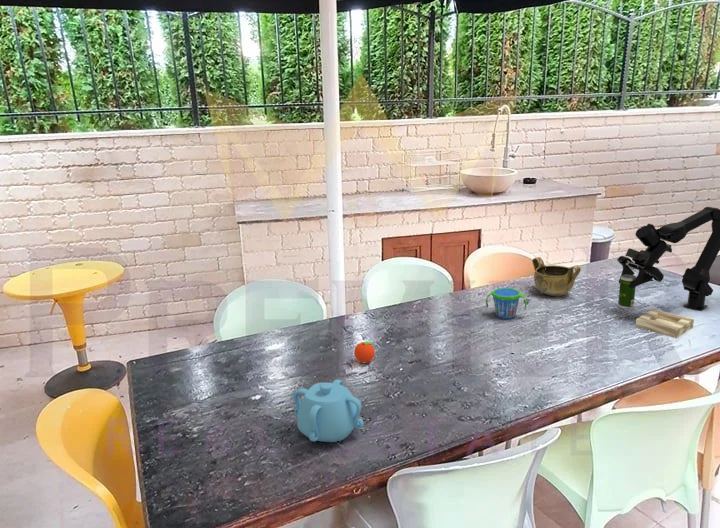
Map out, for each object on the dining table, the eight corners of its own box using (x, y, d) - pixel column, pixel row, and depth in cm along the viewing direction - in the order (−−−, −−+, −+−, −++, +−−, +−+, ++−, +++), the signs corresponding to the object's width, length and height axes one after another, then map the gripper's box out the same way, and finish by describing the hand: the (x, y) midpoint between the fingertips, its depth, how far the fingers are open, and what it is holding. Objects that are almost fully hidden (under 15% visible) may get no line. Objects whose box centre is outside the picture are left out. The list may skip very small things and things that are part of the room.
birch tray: (652, 317, 200) (653, 309, 199) (692, 327, 189) (694, 319, 188) (635, 327, 191) (636, 318, 190) (676, 339, 181) (677, 330, 180)
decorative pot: (304, 455, 128) (300, 407, 124) (293, 420, 143) (289, 376, 139) (367, 441, 133) (364, 394, 129) (349, 408, 148) (347, 365, 144)
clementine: (373, 354, 179) (372, 336, 177) (381, 363, 173) (380, 343, 171) (351, 359, 177) (350, 340, 175) (358, 368, 170) (357, 348, 168)
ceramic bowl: (588, 296, 223) (590, 262, 219) (563, 305, 214) (565, 271, 210) (544, 283, 241) (546, 252, 237) (520, 291, 232) (521, 259, 228)
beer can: (635, 305, 198) (638, 275, 195) (630, 309, 195) (633, 279, 191) (621, 302, 202) (623, 273, 199) (615, 306, 199) (618, 276, 195)
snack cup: (482, 318, 206) (483, 294, 203) (489, 309, 215) (489, 285, 212) (523, 323, 199) (524, 298, 196) (528, 313, 208) (529, 290, 205)
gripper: (623, 235, 201) (596, 266, 202) (660, 246, 183) (630, 280, 184) (638, 252, 205) (612, 282, 206) (676, 265, 187) (647, 298, 188)
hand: (624, 285), depth 196 cm, fingers closed on beer can, 5 cm apart
